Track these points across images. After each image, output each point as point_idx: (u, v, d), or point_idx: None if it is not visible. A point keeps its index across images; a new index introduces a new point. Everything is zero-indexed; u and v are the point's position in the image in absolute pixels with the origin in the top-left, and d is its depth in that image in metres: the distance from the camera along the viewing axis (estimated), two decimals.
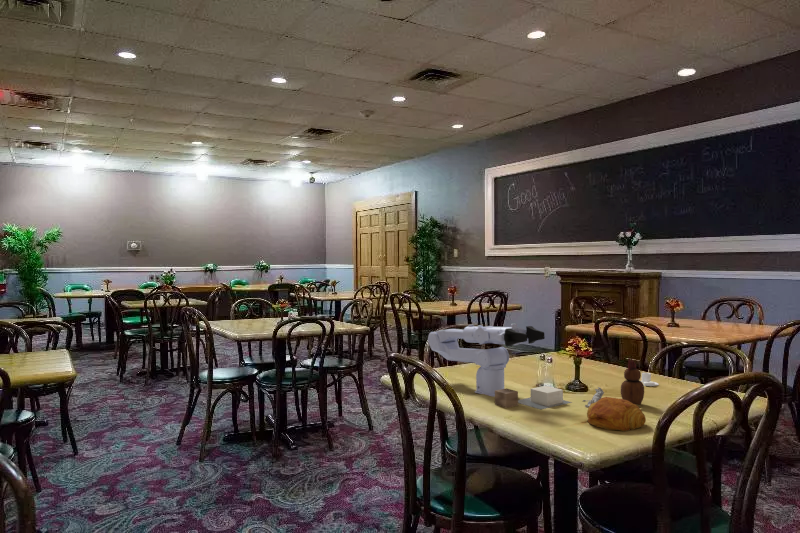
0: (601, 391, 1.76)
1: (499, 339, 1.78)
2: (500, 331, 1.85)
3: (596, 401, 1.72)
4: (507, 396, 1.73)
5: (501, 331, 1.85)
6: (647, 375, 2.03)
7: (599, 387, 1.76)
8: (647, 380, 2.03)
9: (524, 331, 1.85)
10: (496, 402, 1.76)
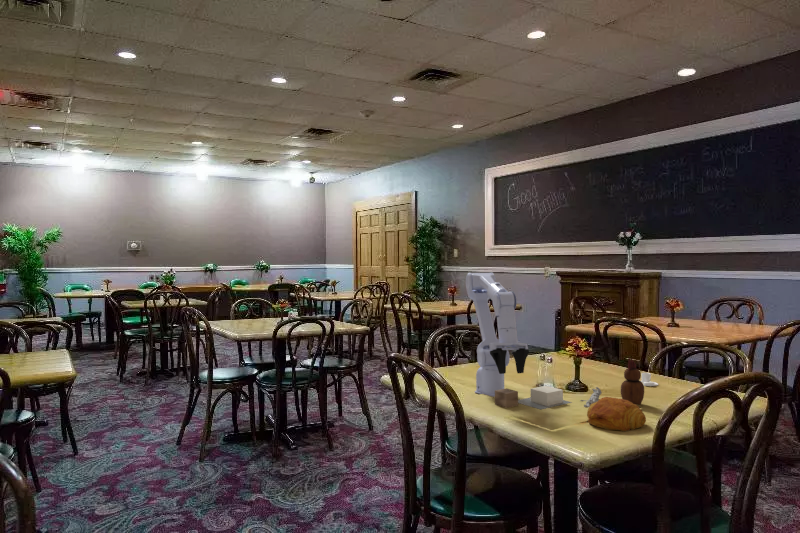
0: (599, 391, 1.77)
1: (490, 346, 1.73)
2: (505, 331, 1.75)
3: (595, 401, 1.72)
4: (507, 396, 1.73)
5: (505, 332, 1.75)
6: (647, 375, 2.03)
7: (597, 387, 1.76)
8: (647, 380, 2.03)
9: (520, 345, 1.78)
10: (496, 402, 1.76)
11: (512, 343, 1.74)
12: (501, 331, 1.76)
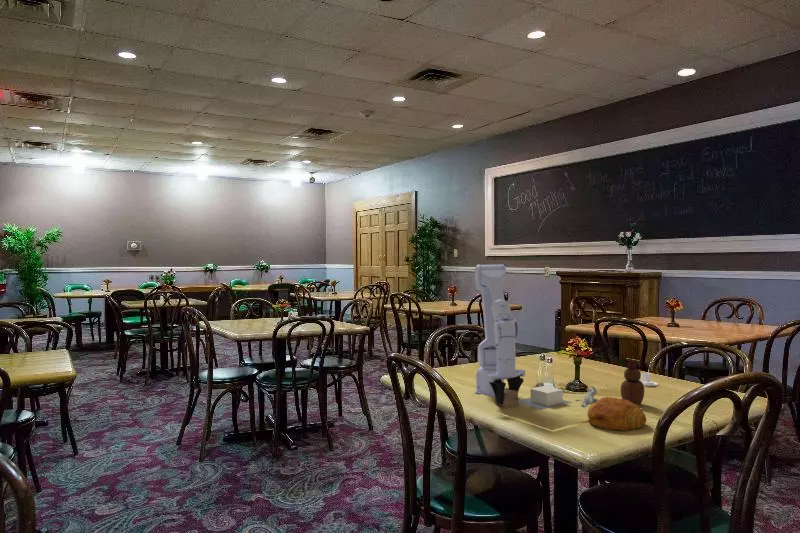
0: (594, 390, 1.77)
1: (487, 378, 1.72)
2: (504, 362, 1.73)
3: (592, 400, 1.73)
4: (507, 395, 1.73)
5: (504, 364, 1.73)
6: (647, 375, 2.03)
7: None
8: (647, 380, 2.03)
9: None
10: (496, 402, 1.76)
11: (509, 375, 1.73)
12: (500, 361, 1.74)
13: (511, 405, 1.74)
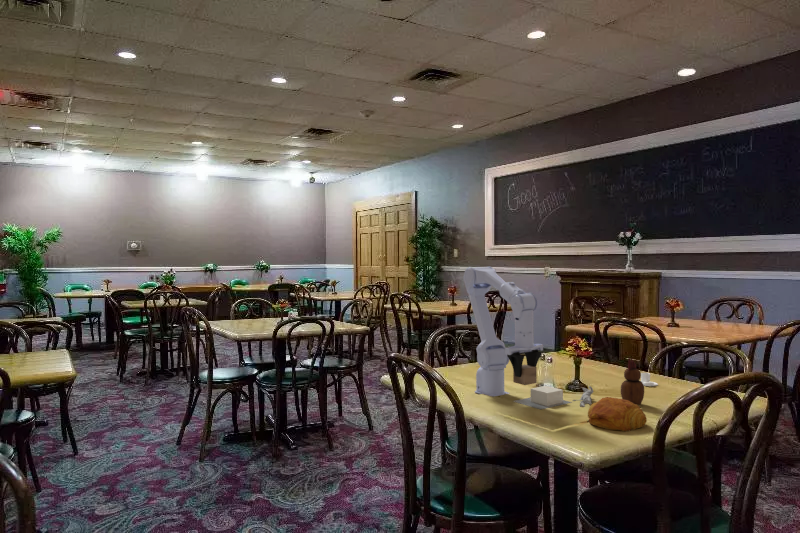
0: (591, 390, 1.78)
1: (506, 351, 1.73)
2: (522, 335, 1.74)
3: (590, 400, 1.73)
4: (526, 371, 1.74)
5: (522, 337, 1.74)
6: (646, 375, 2.03)
7: (590, 386, 1.77)
8: (646, 380, 2.03)
9: (536, 347, 1.78)
10: (514, 377, 1.77)
11: (528, 348, 1.74)
12: (518, 335, 1.75)
13: (530, 381, 1.75)
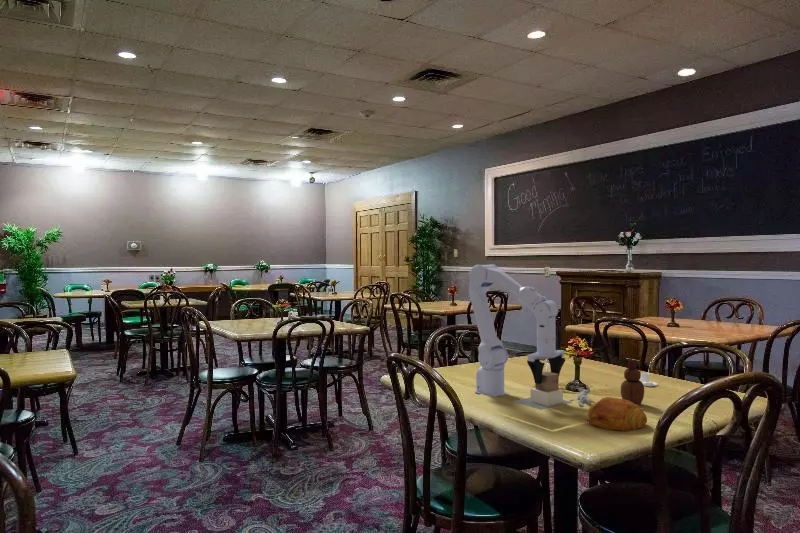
0: (588, 389, 1.79)
1: (528, 358, 1.75)
2: (544, 342, 1.76)
3: (589, 400, 1.74)
4: (548, 378, 1.75)
5: (544, 344, 1.76)
6: (646, 375, 2.03)
7: None
8: (646, 380, 2.03)
9: None
10: (536, 384, 1.79)
11: (550, 355, 1.75)
12: (540, 341, 1.77)
13: (552, 388, 1.76)
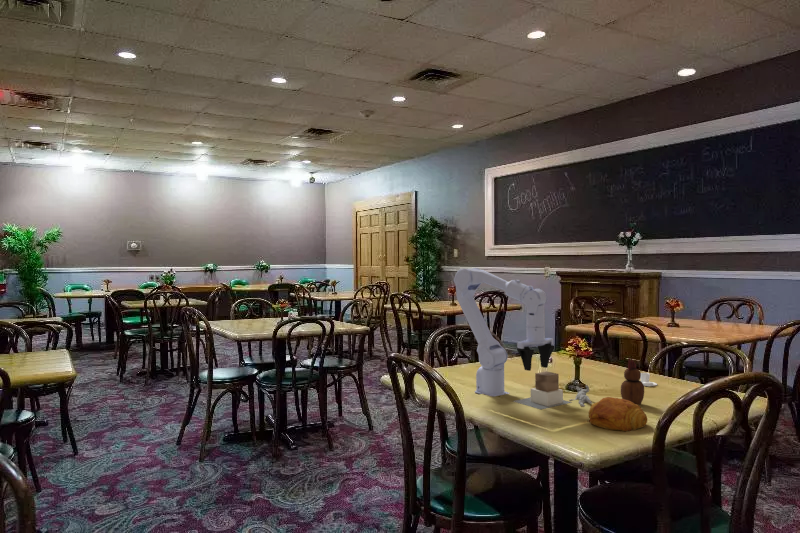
0: (588, 389, 1.79)
1: (518, 345, 1.79)
2: (534, 330, 1.79)
3: None
4: (548, 378, 1.75)
5: (534, 331, 1.79)
6: (646, 375, 2.03)
7: None
8: (646, 380, 2.03)
9: (547, 341, 1.83)
10: (536, 384, 1.79)
11: (539, 342, 1.79)
12: (530, 329, 1.80)
13: (552, 388, 1.76)
